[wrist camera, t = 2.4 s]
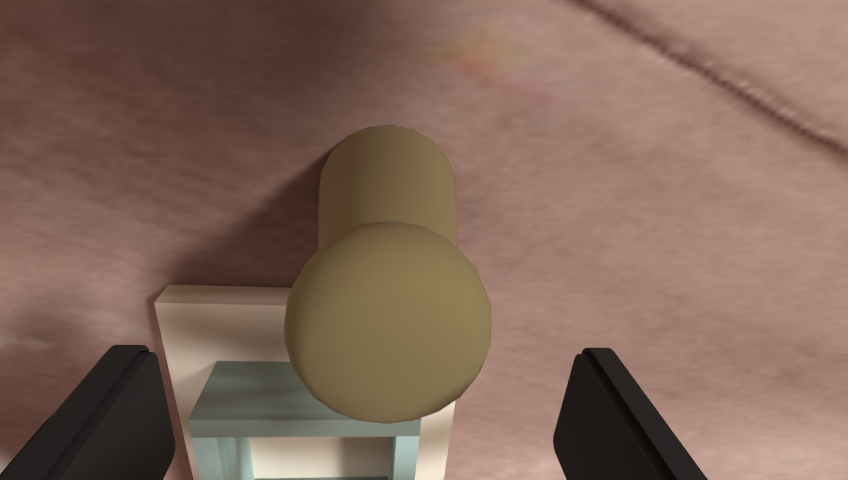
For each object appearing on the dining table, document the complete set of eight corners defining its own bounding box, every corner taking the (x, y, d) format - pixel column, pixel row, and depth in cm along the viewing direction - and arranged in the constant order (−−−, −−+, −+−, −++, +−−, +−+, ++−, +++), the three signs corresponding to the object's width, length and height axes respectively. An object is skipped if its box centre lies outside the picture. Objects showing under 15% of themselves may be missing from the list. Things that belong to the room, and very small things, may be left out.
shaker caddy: (168, 284, 21) (109, 357, 16) (464, 292, 22) (483, 361, 18) (212, 501, 28) (179, 594, 24) (434, 497, 29) (443, 583, 25)
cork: (320, 252, 21) (260, 463, 11) (317, 120, 18) (234, 244, 8) (448, 256, 21) (501, 461, 12) (464, 129, 19) (550, 256, 9)
